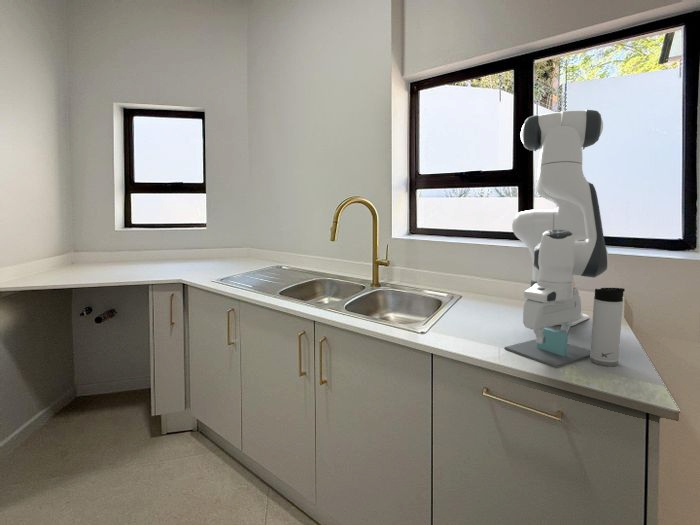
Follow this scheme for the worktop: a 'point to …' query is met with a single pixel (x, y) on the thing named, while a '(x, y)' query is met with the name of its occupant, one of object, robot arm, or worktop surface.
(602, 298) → the travel mug
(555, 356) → the mat
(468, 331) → the worktop surface
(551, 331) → the block
